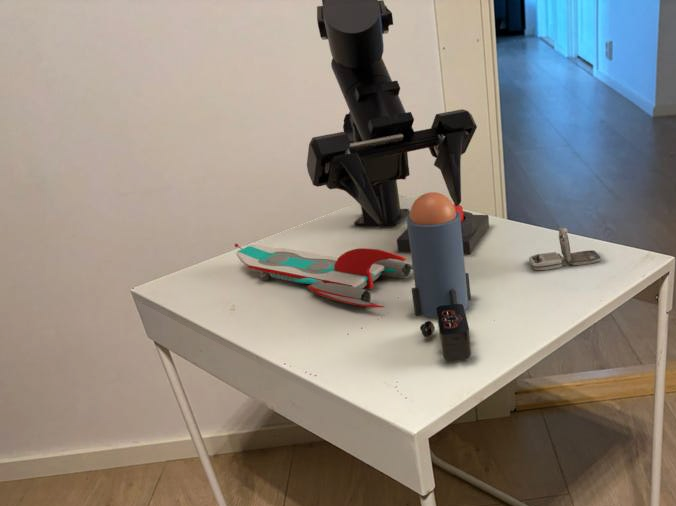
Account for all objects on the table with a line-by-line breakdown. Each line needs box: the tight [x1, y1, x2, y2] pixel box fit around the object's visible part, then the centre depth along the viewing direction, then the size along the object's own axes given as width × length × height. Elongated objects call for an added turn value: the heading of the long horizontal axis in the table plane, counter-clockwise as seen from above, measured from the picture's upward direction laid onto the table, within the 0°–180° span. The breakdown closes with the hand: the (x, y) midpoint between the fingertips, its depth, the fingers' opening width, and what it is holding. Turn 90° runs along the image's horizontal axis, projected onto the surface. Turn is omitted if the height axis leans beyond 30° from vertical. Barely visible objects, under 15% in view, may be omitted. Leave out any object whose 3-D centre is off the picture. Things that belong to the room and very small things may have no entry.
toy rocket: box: [406, 191, 472, 319], centre depth 76 cm, size 7×7×13 cm
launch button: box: [453, 203, 464, 222], centre depth 94 cm, size 4×4×2 cm
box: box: [396, 210, 490, 255], centre depth 97 cm, size 10×10×4 cm
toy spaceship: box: [234, 243, 413, 309], centre depth 88 cm, size 27×11×5 cm, turn 64°
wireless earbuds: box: [419, 304, 472, 363], centre depth 71 cm, size 5×7×3 cm, turn 7°
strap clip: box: [528, 227, 601, 271], centre depth 87 cm, size 8×3×4 cm, turn 100°
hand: (421, 213), depth 77 cm, fingers open, 9 cm apart
